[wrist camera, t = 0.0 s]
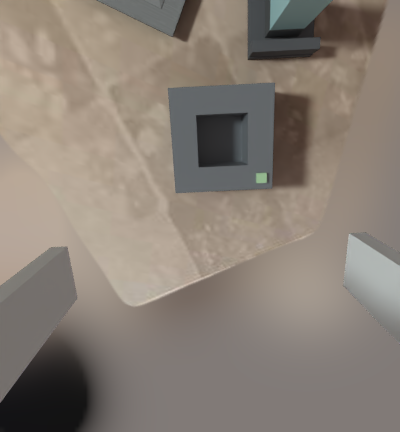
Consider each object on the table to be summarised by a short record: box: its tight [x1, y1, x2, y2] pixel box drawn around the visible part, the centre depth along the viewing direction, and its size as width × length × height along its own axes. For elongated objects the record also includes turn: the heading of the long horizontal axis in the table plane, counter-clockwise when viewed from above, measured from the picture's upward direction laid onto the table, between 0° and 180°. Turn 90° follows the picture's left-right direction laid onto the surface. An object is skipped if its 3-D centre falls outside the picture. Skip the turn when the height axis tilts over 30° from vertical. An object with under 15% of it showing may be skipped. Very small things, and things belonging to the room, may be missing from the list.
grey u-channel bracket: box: [248, 0, 321, 60], centre depth 33 cm, size 8×8×3 cm
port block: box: [168, 83, 275, 193], centre depth 35 cm, size 12×12×6 cm
